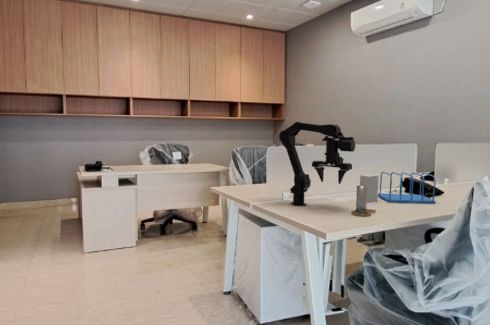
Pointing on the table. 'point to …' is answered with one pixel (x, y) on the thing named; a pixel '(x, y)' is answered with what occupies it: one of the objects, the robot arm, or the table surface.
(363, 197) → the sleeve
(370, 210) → the stand pad
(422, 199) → the file sorter
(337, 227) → the table surface
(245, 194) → the table surface
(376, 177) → the skincare box
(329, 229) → the table surface
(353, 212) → the hub seat
